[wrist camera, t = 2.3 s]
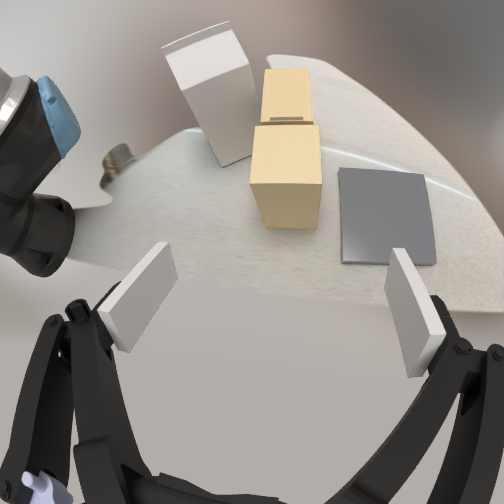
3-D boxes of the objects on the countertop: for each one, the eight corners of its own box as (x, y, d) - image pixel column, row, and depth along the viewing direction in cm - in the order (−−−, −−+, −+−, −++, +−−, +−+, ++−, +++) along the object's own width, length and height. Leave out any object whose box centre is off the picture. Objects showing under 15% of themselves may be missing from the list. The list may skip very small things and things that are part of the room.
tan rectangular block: (266, 228, 33) (249, 183, 22) (269, 181, 34) (255, 126, 24) (317, 229, 32) (322, 183, 21) (316, 181, 33) (319, 125, 23)
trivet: (341, 263, 30) (343, 260, 29) (338, 172, 33) (339, 167, 32) (432, 265, 28) (436, 263, 27) (420, 178, 31) (423, 174, 30)
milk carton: (269, 148, 36) (241, 31, 18) (222, 168, 36) (165, 61, 18) (251, 117, 38) (218, 12, 20) (208, 135, 38) (157, 37, 20)
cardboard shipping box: (272, 177, 34) (259, 121, 24) (275, 126, 37) (264, 69, 26) (312, 178, 33) (313, 120, 23) (310, 126, 36) (308, 67, 25)
